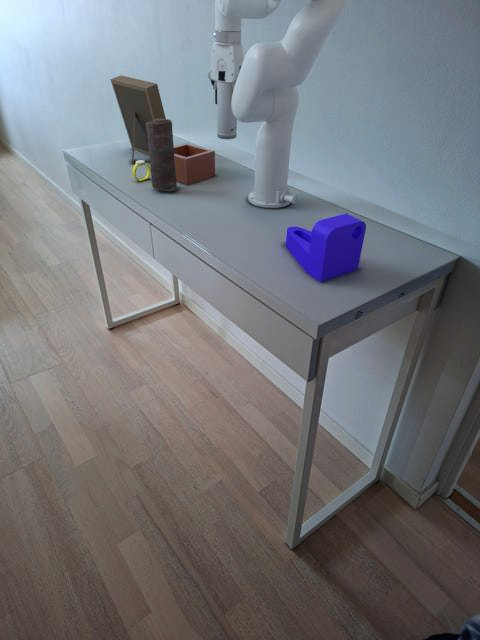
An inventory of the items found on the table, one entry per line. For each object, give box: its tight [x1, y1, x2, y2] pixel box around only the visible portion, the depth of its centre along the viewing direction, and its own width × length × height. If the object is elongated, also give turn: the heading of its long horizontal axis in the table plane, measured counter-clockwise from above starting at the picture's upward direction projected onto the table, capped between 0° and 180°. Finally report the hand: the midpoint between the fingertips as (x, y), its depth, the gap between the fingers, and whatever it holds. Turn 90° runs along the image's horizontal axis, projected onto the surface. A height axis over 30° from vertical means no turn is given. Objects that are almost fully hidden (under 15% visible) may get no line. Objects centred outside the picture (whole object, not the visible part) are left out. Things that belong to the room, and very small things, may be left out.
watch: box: [131, 159, 151, 182], centre depth 143 cm, size 6×3×6 cm, turn 135°
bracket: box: [285, 213, 367, 283], centre depth 101 cm, size 18×11×12 cm, turn 33°
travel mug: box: [216, 71, 238, 140], centre depth 142 cm, size 6×7×20 cm
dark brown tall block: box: [146, 118, 178, 192], centre depth 132 cm, size 8×7×20 cm
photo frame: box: [110, 74, 167, 165], centre depth 158 cm, size 15×22×25 cm
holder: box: [174, 142, 216, 186], centre depth 147 cm, size 13×13×8 cm
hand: (227, 104), depth 142 cm, fingers closed on travel mug, 6 cm apart
